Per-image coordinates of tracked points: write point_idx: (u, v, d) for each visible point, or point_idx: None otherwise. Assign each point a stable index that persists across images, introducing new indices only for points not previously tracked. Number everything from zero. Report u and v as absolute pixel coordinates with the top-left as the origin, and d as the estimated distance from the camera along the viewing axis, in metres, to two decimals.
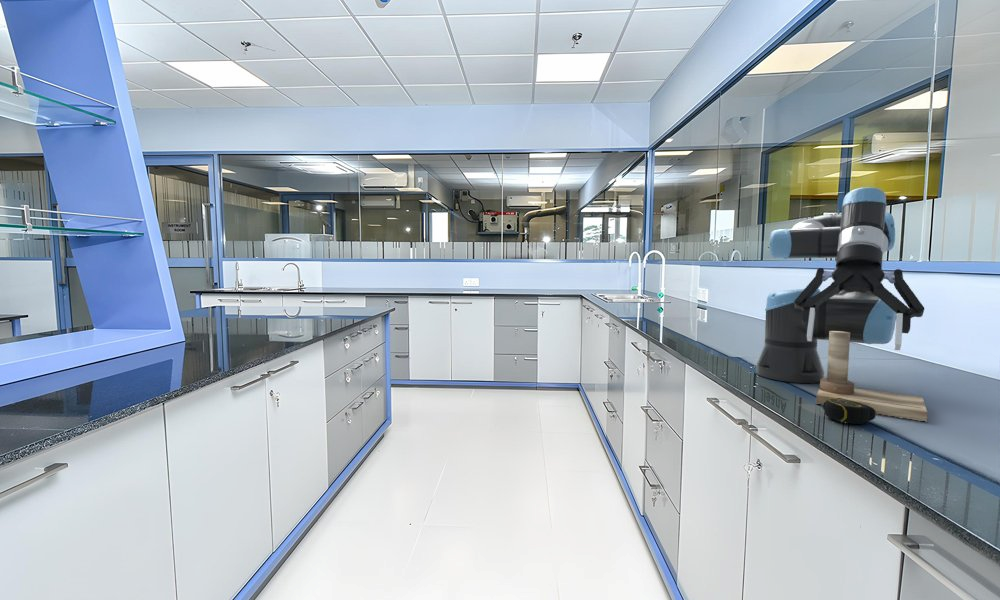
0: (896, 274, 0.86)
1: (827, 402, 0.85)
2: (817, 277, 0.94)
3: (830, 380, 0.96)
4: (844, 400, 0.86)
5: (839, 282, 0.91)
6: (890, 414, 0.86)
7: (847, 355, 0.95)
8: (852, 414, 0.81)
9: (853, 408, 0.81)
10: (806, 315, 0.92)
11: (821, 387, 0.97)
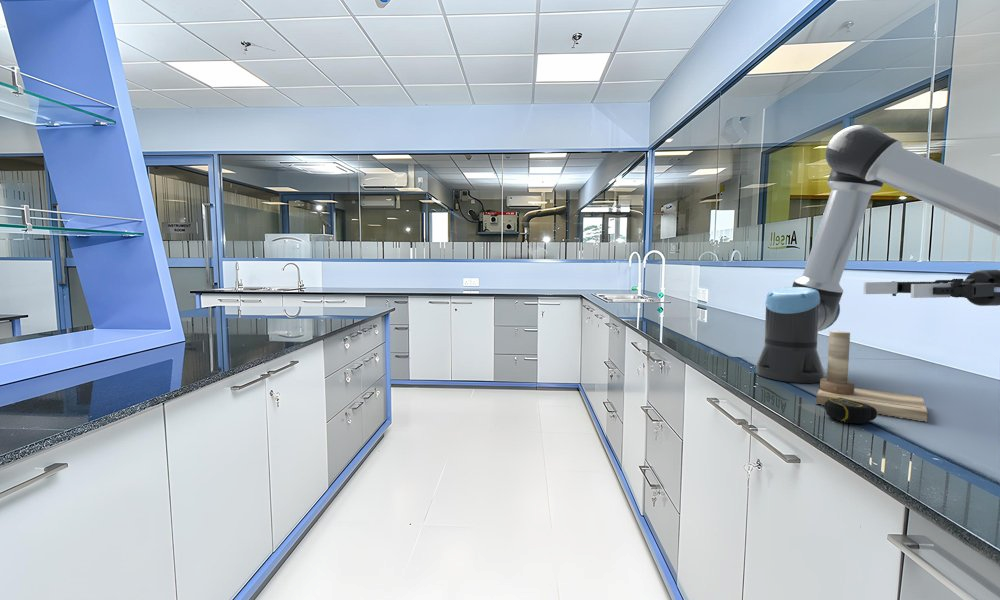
0: None
1: (828, 402, 0.85)
2: None
3: (830, 380, 0.96)
4: (845, 400, 0.86)
5: (964, 297, 0.90)
6: (890, 414, 0.86)
7: (847, 355, 0.95)
8: (854, 414, 0.81)
9: (854, 408, 0.81)
10: None
11: (821, 387, 0.97)
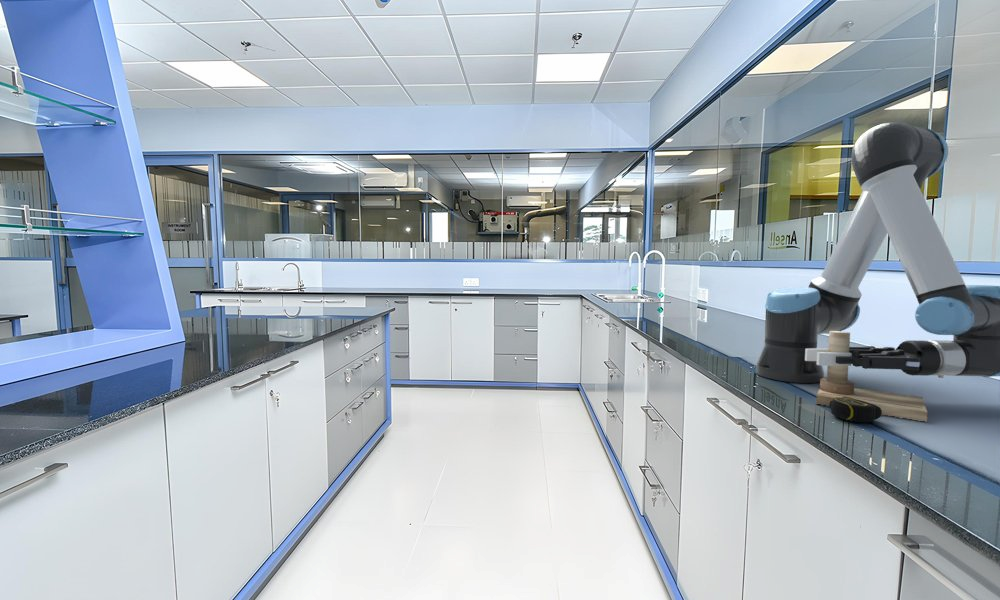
0: None
1: (833, 401, 0.86)
2: None
3: (830, 380, 0.96)
4: (850, 399, 0.86)
5: None
6: (890, 414, 0.86)
7: None
8: (859, 413, 0.82)
9: (859, 407, 0.82)
10: None
11: (821, 387, 0.97)
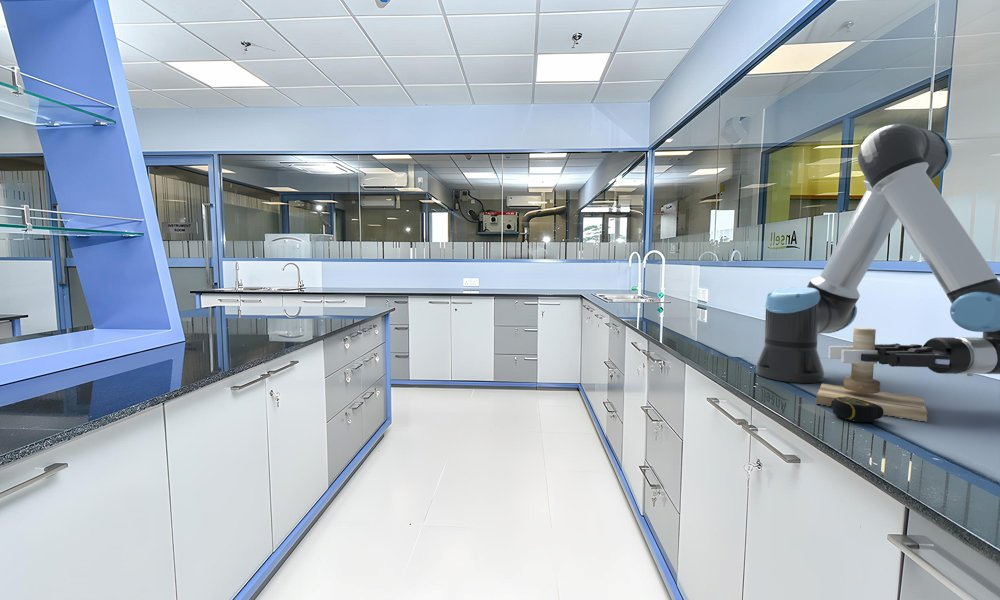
0: None
1: (835, 400, 0.86)
2: None
3: (855, 378, 0.93)
4: (852, 399, 0.86)
5: None
6: (890, 414, 0.86)
7: None
8: (860, 412, 0.82)
9: (861, 406, 0.82)
10: None
11: (845, 386, 0.94)
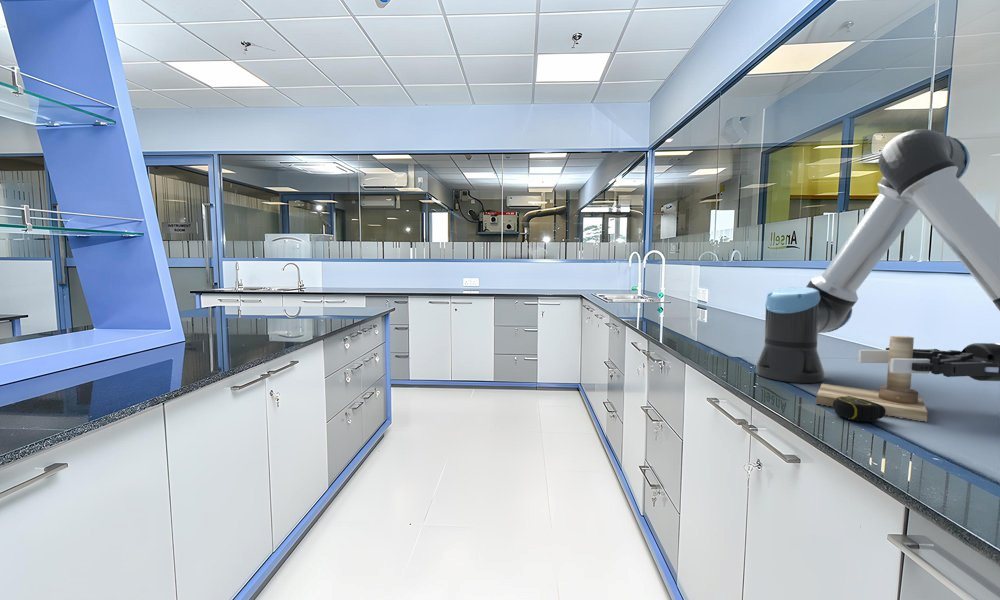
0: None
1: (837, 400, 0.86)
2: None
3: (891, 388, 0.90)
4: (854, 398, 0.87)
5: None
6: (890, 414, 0.86)
7: None
8: (862, 412, 0.82)
9: (863, 406, 0.82)
10: None
11: (881, 395, 0.91)
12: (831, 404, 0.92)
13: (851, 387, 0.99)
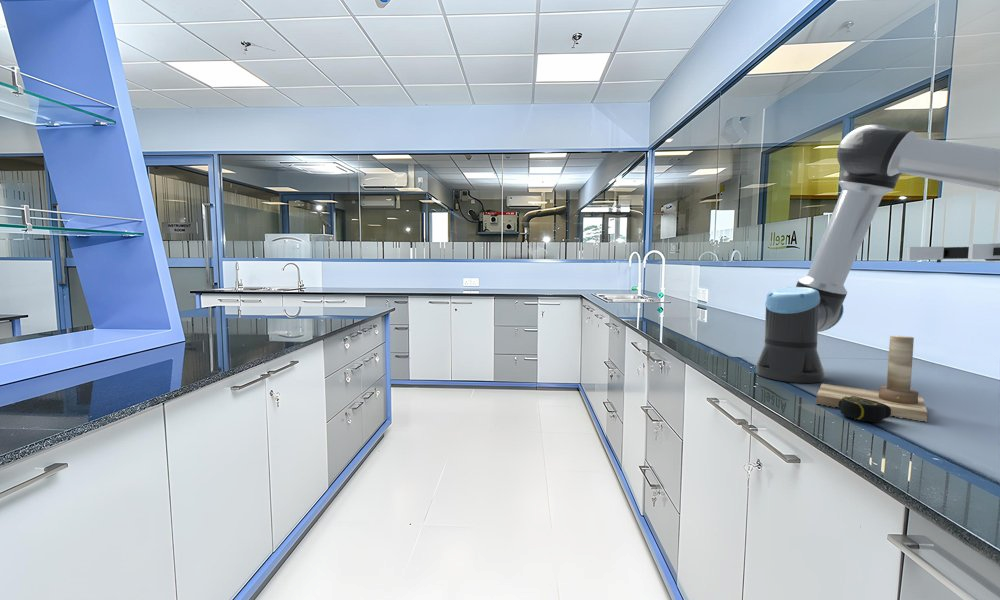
0: None
1: (843, 400, 0.86)
2: None
3: (891, 388, 0.90)
4: (859, 398, 0.87)
5: None
6: None
7: (911, 361, 0.88)
8: (869, 412, 0.82)
9: (870, 406, 0.82)
10: None
11: (881, 396, 0.91)
12: (831, 404, 0.92)
13: (851, 387, 0.99)
